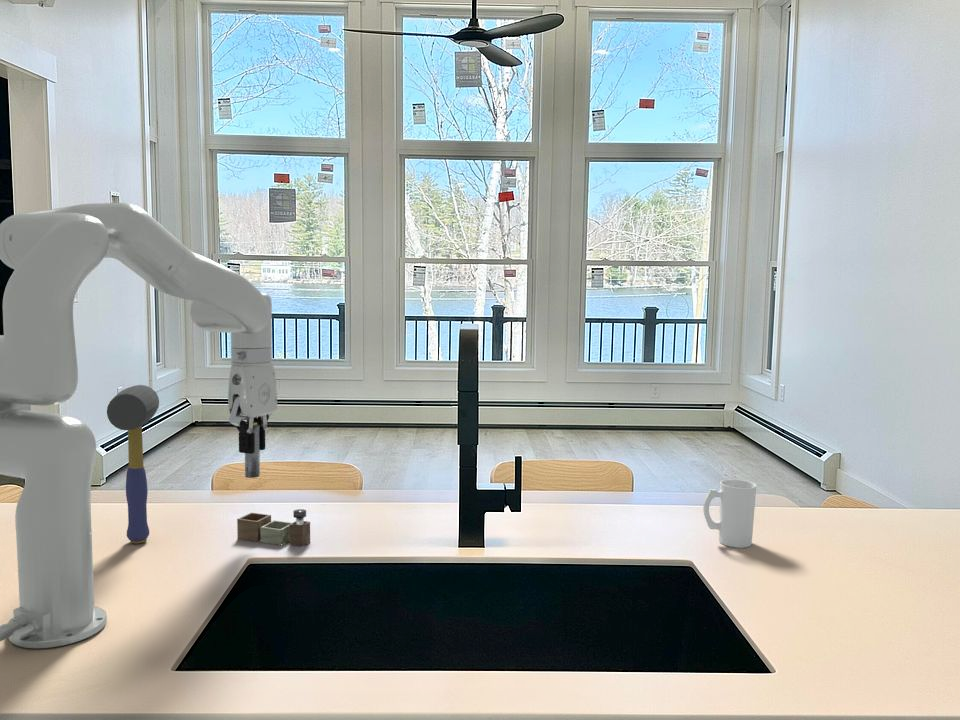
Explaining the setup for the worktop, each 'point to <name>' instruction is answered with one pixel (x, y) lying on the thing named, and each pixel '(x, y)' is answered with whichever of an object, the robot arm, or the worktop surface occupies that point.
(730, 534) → the mug
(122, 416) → the rubber mallet
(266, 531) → the compartment holder
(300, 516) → the round dark gray knob
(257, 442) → the gray yellow-capped cylinder
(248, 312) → the robot arm
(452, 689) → the worktop surface
